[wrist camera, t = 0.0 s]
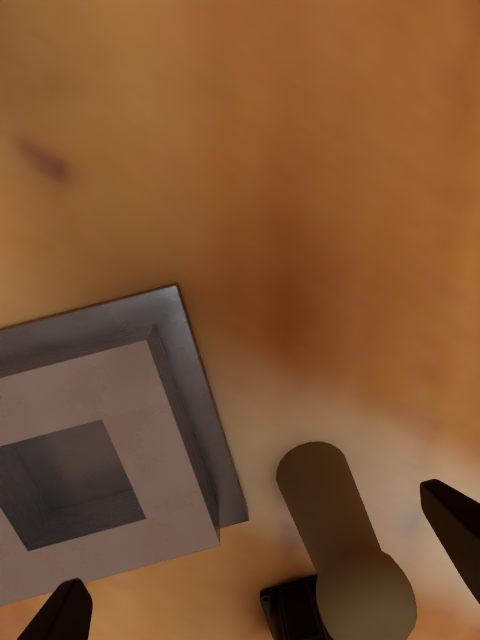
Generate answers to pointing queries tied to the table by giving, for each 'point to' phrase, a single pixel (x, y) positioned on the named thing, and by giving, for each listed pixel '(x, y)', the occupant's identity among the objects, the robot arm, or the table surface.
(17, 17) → the table surface
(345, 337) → the table surface
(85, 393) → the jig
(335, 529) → the cork
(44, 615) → the robot arm
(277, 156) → the table surface
